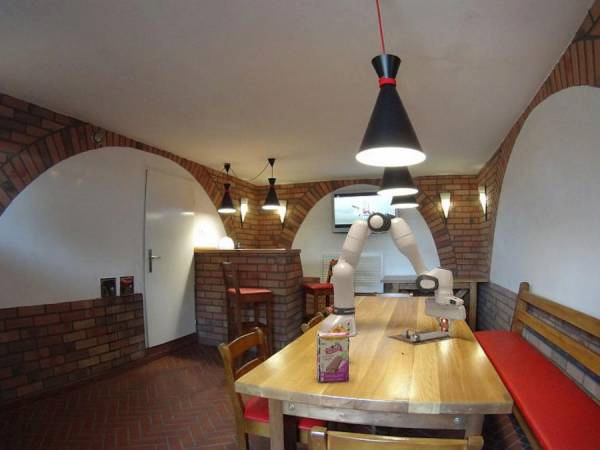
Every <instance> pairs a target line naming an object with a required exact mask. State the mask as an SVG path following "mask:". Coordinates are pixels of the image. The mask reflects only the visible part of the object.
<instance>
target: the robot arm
mask: <svg viewBox="0 0 600 450" xmlns="http://www.w3.org/2000/svg"><path fill="white" fill-rule="evenodd" d="M384 233H387V234H389V236H390V239H391V240H392V242H393V244H394V246H395V247H396V249H397V251H399V253H400V254H402V255H403V256H404V257H406V258H407V260H408V261H409V262H410V265H411V266H412V267H413V269H414V272H415V274H416V279H415V282H414V283H415V287H416V288H417V290H418V291H420V292H422V293H429V292H434V298H433V297H427V298H425V299H424V315H425V316H428V317H434V318H435V320H436V323H437V327H441V318H446V319H448V324H447V327H448V328H449V329H452V324H453V323H454V322H455V320H456V321H460V322H461V321H464V320H465V319H467V315H466V314H467V313H466V308H465V305H463V304H464V300H463V299H462V298H459V297H457V296H454V291H453V287H454V277H453V272H452V271H451V270H450V269H449V268H446V267H442V266H436V267H434V268H433V269H432V270H429V269H428V267H427V266H426V263H425V262H424V260H423V258H422V256H421V254H420V251H419V245H418V243H417V240H416V237H415V235H414V233H413V230H412V229H411V227H410V226H409V224H408V223H407V222H406V221H405V219H404V218H402V217H395V218H392V219H391V218H390V217H388V216H387V215H385V214H384V213H382V212H379V211H377V212H373V213H371V214H370V215H369V216H368V217H367V220H364V219H362V218H359V219H356V220H354V221H353V223H352V224H351V226H350V228H349V230H348V232H347V235H346V237H345V240H344V242H343V245H342V247H341V249H340V254H339V257H338V261H337V263H336V264H335V265H334V266H333V268H332V284H333V304H334V305H333V307H328V308H327V310H328V312H331V313H330V315H328V316H327V317H326V318H325V319H324V320H323V321H322V322H321V327H320V328H321V329H320V330H317V331H316V334H317V333H328V331H332V332H333V330H334V328H336V327H337V326H339V328H340V330H341V328H342V329H343V327H342V326H341V325H343V326H344V328H345V330H346V333H347V332H350V334H349V337H356V336H357V335H358V329H357V324H356V315H355V314H356V306H355V289H354V288H355V287H354V275H355V273H356V270H357V267H358V264H359V262H360V260H361V257H362V254H363V251H364V249H365V246H366V244H367V240H368V238H369V236H370V234H384ZM332 328H333V330H332ZM341 332H342V330H341ZM337 333H338V331H337Z"/></svg>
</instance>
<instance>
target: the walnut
mask: <svg viewBox="0 0 600 450" xmlns="http://www.w3.org/2000/svg"><path fill="white" fill-rule="evenodd" d="M417 332H418V331H417V330H415V329H409V330H408V339H410V340H411V337H410V336H412V335H413V334H417Z"/></svg>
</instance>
